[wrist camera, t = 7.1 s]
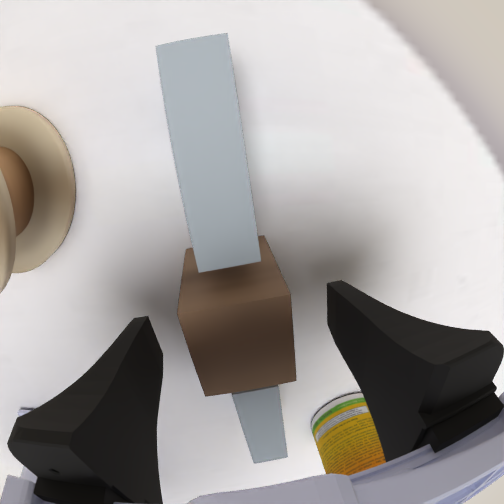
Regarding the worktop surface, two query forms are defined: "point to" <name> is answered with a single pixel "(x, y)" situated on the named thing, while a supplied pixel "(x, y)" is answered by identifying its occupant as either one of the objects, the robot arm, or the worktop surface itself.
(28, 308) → the worktop surface
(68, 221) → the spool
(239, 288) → the block
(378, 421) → the robot arm
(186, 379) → the worktop surface
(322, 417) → the supplement bottle
